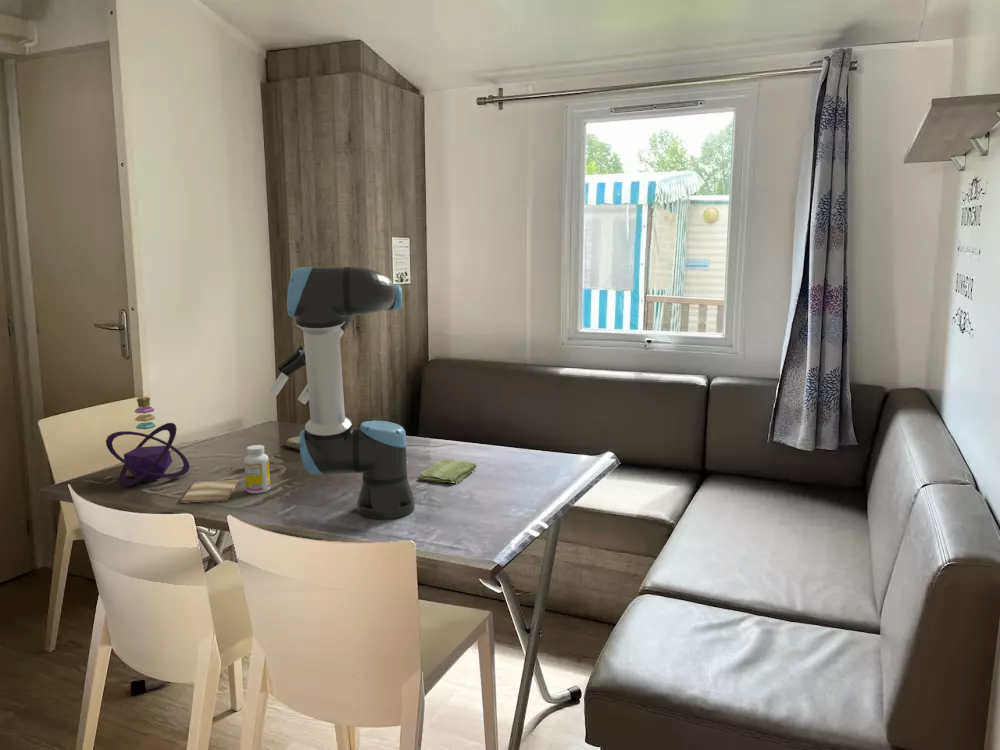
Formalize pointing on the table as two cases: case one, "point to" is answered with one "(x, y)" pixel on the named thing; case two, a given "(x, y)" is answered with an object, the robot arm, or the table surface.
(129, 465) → the decorative bottle
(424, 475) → the washcloth
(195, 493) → the pad
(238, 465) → the table surface
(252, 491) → the supplement bottle
